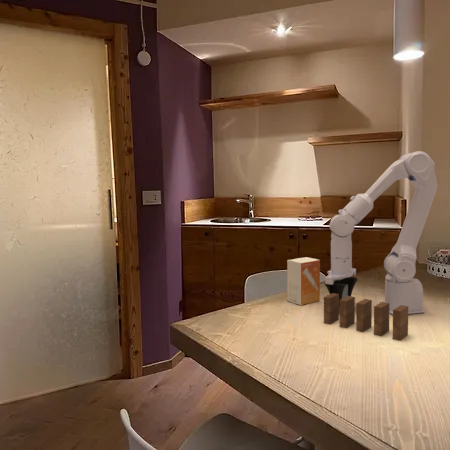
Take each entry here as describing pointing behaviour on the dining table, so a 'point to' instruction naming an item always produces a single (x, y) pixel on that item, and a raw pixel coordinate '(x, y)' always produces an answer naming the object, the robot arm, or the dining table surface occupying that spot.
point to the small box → (303, 280)
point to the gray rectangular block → (344, 293)
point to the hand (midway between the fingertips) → (341, 304)
